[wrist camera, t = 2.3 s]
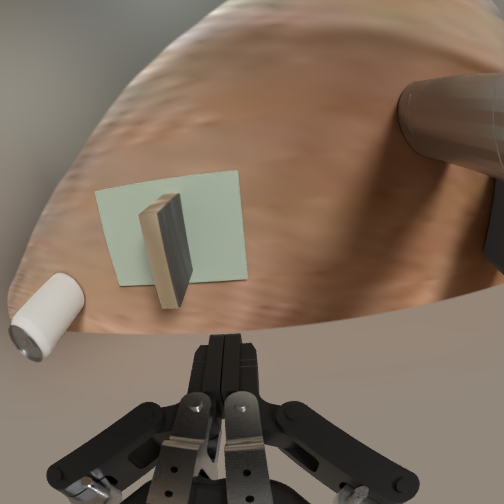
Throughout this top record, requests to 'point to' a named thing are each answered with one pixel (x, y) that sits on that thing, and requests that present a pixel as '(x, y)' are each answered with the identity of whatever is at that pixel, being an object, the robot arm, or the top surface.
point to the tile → (167, 248)
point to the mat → (196, 224)
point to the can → (46, 316)
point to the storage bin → (496, 229)
